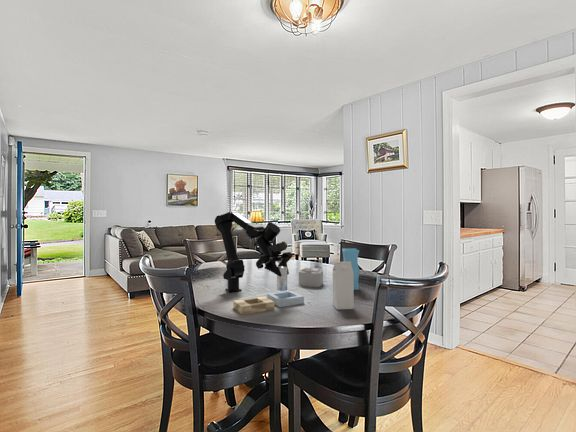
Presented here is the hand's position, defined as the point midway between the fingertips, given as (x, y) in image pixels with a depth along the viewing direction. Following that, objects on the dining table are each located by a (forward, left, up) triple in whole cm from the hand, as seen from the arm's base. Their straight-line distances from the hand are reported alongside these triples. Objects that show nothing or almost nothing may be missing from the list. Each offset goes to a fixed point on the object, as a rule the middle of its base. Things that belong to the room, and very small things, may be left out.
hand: (284, 275), depth 144 cm
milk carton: (+17, +18, -13) cm, 28 cm away
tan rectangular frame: (0, -15, -12) cm, 19 cm away
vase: (-7, +42, -13) cm, 45 cm away
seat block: (-2, +1, -12) cm, 13 cm away
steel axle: (-1, 0, -7) cm, 7 cm away
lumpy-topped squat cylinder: (-25, +29, -13) cm, 40 cm away
